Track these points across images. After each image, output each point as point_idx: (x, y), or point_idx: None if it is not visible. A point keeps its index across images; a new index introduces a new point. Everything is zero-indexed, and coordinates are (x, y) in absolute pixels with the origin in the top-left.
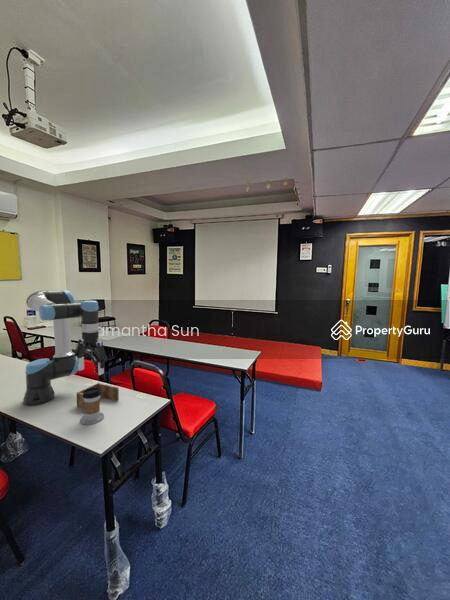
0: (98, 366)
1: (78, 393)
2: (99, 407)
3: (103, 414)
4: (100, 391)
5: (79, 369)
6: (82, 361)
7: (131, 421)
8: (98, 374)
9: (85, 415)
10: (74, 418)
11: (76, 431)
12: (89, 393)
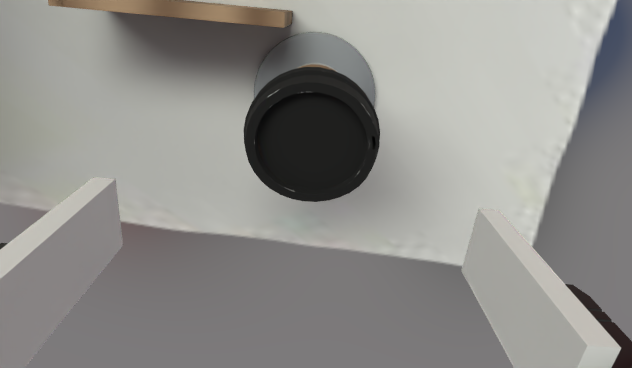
0: (517, 363)
1: (72, 7)
2: (290, 11)
3: (349, 45)
4: (352, 84)
5: (113, 254)
6: (43, 275)
7: (548, 45)
8: (465, 274)
9: (258, 89)
10: (220, 121)
11: (326, 203)
12: (337, 196)
